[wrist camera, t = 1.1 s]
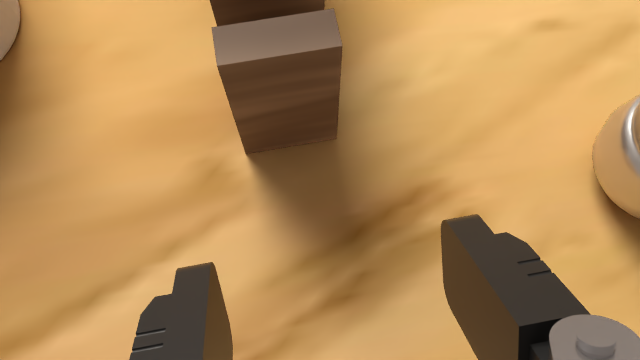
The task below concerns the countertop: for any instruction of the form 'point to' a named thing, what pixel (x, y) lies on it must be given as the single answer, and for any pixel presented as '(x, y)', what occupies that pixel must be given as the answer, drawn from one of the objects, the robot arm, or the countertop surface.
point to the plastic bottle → (620, 156)
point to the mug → (8, 24)
